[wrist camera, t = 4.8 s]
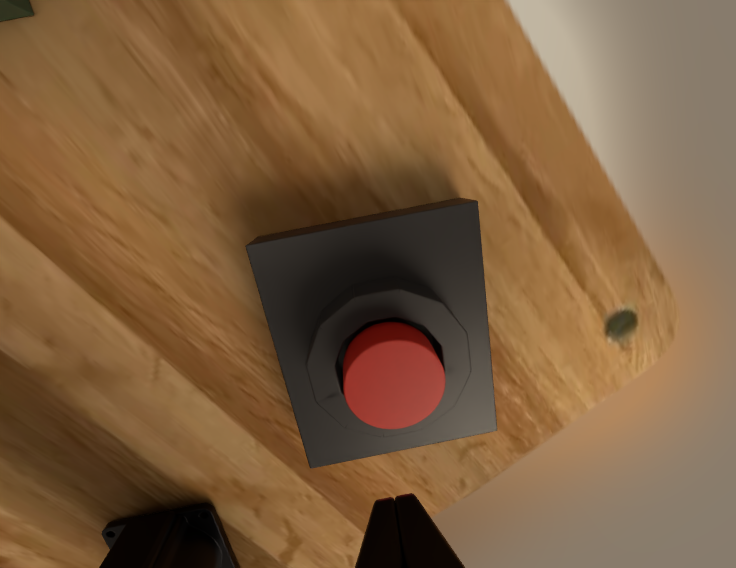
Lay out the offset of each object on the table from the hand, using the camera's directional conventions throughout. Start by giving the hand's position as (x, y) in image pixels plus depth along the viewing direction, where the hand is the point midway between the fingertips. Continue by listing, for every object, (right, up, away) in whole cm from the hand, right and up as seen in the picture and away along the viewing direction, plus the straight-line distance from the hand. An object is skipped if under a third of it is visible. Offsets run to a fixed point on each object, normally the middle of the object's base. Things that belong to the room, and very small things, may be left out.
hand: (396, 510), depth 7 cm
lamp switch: (0, +2, +11) cm, 12 cm away
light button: (0, +1, +8) cm, 8 cm away
